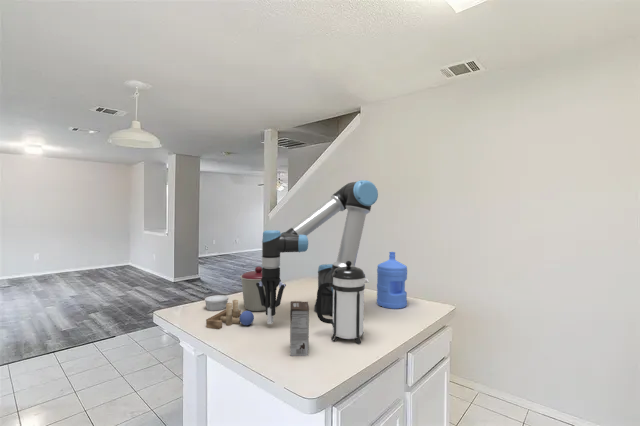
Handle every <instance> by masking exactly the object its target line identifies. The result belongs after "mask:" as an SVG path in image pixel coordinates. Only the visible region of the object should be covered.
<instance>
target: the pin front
mask: <svg viewBox="0 0 640 426" xmlns="http://www.w3.org/2000/svg"><path fill="white" fill-rule="evenodd" d="M220 320H222V323H226V317H225V316H221V318H220ZM232 324H235V325H240V324H242V323H241V322H240V317H239V318H233V317H232Z"/></svg>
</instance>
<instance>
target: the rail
mask: <svg viewBox="0 0 640 426" xmlns="http://www.w3.org/2000/svg"><path fill="white" fill-rule="evenodd" d="M241 313H242V311H241V309H238V318H240V315H241ZM221 316H225V317H226V309H223V310H221V311H220V312H218V313H216V314H214V315H212V316H210V317H208V318H206V319H205V322H206V323H205V325H206V328H207V329H214V330H215V329H216V330H221V329H222V328H223V322H222V320H220V318H221Z"/></svg>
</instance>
